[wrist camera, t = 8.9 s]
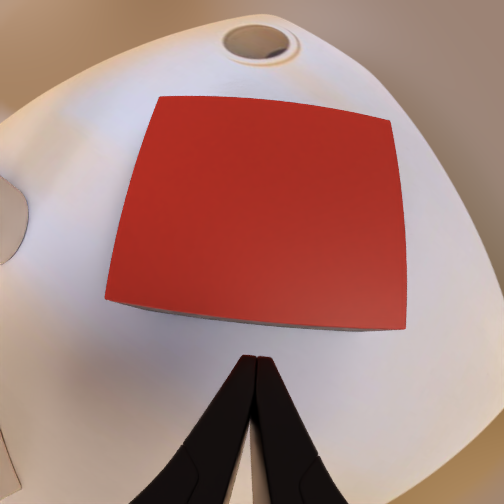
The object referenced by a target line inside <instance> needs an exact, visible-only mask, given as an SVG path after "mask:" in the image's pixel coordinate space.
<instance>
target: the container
mask: <svg viewBox="0 0 504 504" xmlns="http://www.w3.org/2000/svg"><path fill="white" fill-rule="evenodd" d="M19 490H21V485H20V483H19V480H18V478H17V476H16V473H15V471H14V468H13V466H12V463H11V461H10V458H9V455H8V453H7V450H6V447H5V444H4V441H3V438H2V435H1V432H0V500H2V499H4V498H6V497H8V496H10V495H12V494H14V493H15V492H17V491H19Z"/></svg>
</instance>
